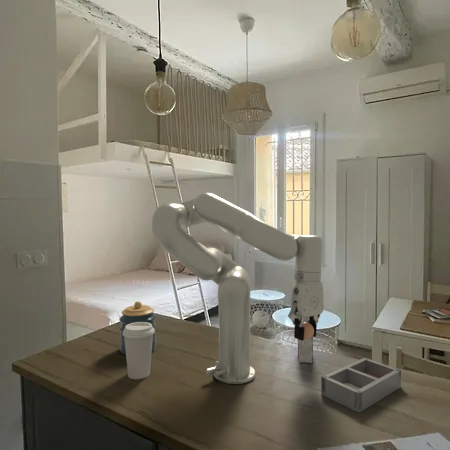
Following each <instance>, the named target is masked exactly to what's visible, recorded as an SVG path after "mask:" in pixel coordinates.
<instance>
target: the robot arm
mask: <svg viewBox="0 0 450 450" xmlns="http://www.w3.org/2000/svg"><path fill="white" fill-rule="evenodd" d="M204 223H208V224H210V225H211V226H213V227H216V228H218V229H219V230H220V231H221V230H222V231H223V232H225V233H227V234H228V235H231V236H232V237H234V238H236V239H237V240H239V241H241V242H244V243H246V244H248V245H250V246H252V247H254V248H256V249H257V250H259V251H260V252H262V253H265V254H267V255H269V256H271V257H272V258H274V259H276V260H279V261H282V262H284V261H285V262H286V261H290V260H292V259H293V258H295V265H294V266H295V267H294V281H293V284H292V285H293V286H292V289H291V290H292V291H291V299H290V310H289V313H288V314H287V317H288V318H289V319H290V321H291V322H292V324H293V325H294V328H293V331H294V332H293V333H294V334H293V337H294V338H295V339H297V340H298V339H299V340H301V341H302V340H304V327H303V323H304V318H307V317H308V319H309V321H307V322H308V323H310V324H311V325H312V326H313V328H314V335H313V338H315V337H317V327H318V323H319V318H320V317H321V314H323V312H324V287H323V286H324V285H323V281H322V262H323V261H322V259H323V257H322V256H323V239H322V237H321V236H319V235H313V234H300V235H297V234H291V233H285V232H284V231H281V230H280V229H278V228H276V227H274V226H271V225H270V224H268V223H266V222H265V221H262V220H261V219H259V218H257V216H255V215H253V214H252V213H251V212H249V211H248V210H245V209H243V208H242V207H239V206H237V205H235V204H233V203H232V202H230V201H228V200H225V199H224V198H221V197H219V196H218V195H216V194H214V193H212V192H201V193H200V194H198V195H197V196H196V197H195V198H192V199H190V200H185V201H182V202H178V203H175V202H166V203H163V204H161V205H159V206H158V207H157V208H156V209H155V211H154V213H153V216H152V219H151V230H152V234H153V236H154V239H155V240H156V242H157V243H158V245H159V246H160V247H161V248H162V249H163V250H164V251H165V252H166V253H168V254H169V255H170V256H171V257H172V258H173V259H175V260H177V261H178V262H179V263H180V264H181V265H182V266H184V267H185V268H186V269H187V270H189V271H190V272H191V273H192V274H193V275H194V276H196V277H197V278H199V279H200V280H202V281H206V282H207V281H212V282H214V283H215V284H216V285H218V287H217V302H218V304H217V305H218V360H215V364H214V365H213V366H212V367H208V368H206V369H205V370H204V371H205V375H206V376H207V377H208V376H212V375H213V377H214V379H216V380H218V381H219V382H222V383H224V384H231V385H240V384H241V385H242V384H246V383H249V382H250V381H252V380H253V379H254V378H255V377H256V370H255V369H254V367H252V366H251V287H252V286H251V285H252V280H251V277H250V274H249V273H248V271H247V270H245V268H243V267H242V266H241V265H239V264H238V263H237V262H235V261H234V260H233V259H231V257H229V256H228V255H226V254H225V253H224V252H222V251H221V250H219V249H217V248H215V247H206V246H205V245H203V244H202V242H199V241H198V240H197V239H196V238H194V237H193V236H192V235H190V234H189V233H187V232H186V231H185V230H184V229H185V228H189V227H193V226H197V225H200V224H204ZM298 317H300V321H299V319H298Z"/></svg>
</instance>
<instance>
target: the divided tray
mask: <svg viewBox="0 0 450 450" xmlns="http://www.w3.org/2000/svg"><path fill="white" fill-rule="evenodd" d="M320 380H321V387H320V388H321V389H320V390H321V391H320V392H321V395H322V396H324V397H326V398H327V399H330V400H333V401H334V402H336V403H338V404H340V405H342V406H344V407H346V408H348V409H350V410H353V411H355V413H362V412H363V411H364V410H366V409H368V408H369V407H371V406H373V405H374V404H376V403H378V402H380V401H381V400H382V399H384V398H386V397H387V396H389V395H391V394H392V393H394V392H395V391H398V390H399V389H400V388H402V370H401V369H398V368H395V367H392V366H390V365H387V364H385V363H381V362H378V361H375V360H374V359H373V360H372V359H370V358H366V357H363V358H361V359H359V360H356V361H354V362H352V363H349V364H348V365H345V366H343V367H340V368H338V369H336V370H334V371H331V372H330V373H328V374H325V375H321V379H320Z"/></svg>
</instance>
